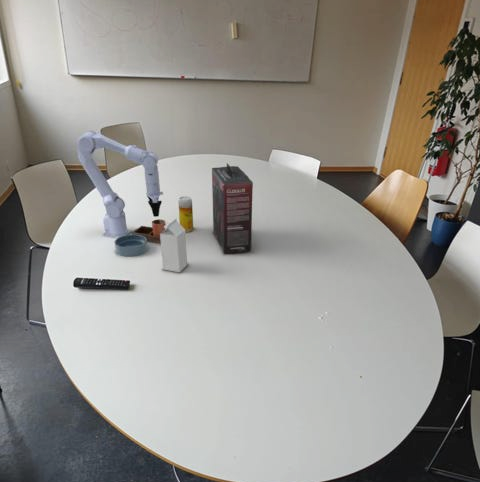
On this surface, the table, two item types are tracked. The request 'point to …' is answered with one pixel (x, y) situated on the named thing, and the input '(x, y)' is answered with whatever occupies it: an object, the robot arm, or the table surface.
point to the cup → (158, 227)
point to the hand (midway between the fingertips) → (155, 213)
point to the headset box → (232, 208)
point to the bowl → (131, 245)
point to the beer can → (186, 213)
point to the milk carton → (173, 247)
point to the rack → (147, 234)
